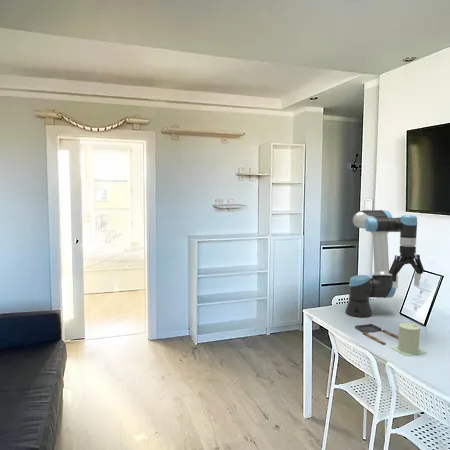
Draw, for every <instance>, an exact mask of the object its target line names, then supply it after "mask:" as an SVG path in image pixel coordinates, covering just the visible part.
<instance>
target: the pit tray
mask: <svg viewBox="0 0 450 450" xmlns="http://www.w3.org/2000/svg"><path fill="white" fill-rule="evenodd" d="M354 329H355V330H357V331H359V332H361V333H363V332H366V333H368V334H369V333H376V332H382V328H381V327H379V326H378V325H376V324H373V323H367V324H358V325H354Z"/></svg>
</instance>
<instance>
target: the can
mask: <svg viewBox="0 0 450 450" xmlns="http://www.w3.org/2000/svg"><path fill="white" fill-rule="evenodd" d="M420 332H421V327H420V326H419V325H417V324H414V323H409V322H402V323H399V324H398V336H399V339H398V344H397V345H398V349H399V350H400V351H402V352H405V353H411V354H415V353H418V352H419V349H420ZM415 355H416V354H415Z"/></svg>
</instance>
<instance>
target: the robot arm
mask: <svg viewBox="0 0 450 450" xmlns="http://www.w3.org/2000/svg"><path fill="white" fill-rule="evenodd" d="M351 222H352V224H353V226H355V228H359V229H365V231H366V232H369V233H371V235H372V248H373V251H372V252H373V253H372V254H373V271H374V272H373V273H372V275H371V277H370V275H366V274H365V275H364V274H357V275H354V276H351V277H350V279H349V284H348V286H349V287H348V288H349V290H348V302H347V305H346V307H345V314H346V315H348V316H350V317H351V316H352V317H356V318H368V317H369V318H370V317H372V314H373V313H372V308H371V304H370V298H381V299H383V298H384V299H387V298H389V299H391V298H394V296H395V294H396V291H397V289H398V287H399V275H398V274H399V273H400V271H401V270H402V268H403V267H404V266H405V265H411V268H413V270H414V271H415V272H414V277H413V278H414V281H413V285H414V286H415V287H420V280H421V275H422V274H423V273H424V272H425V269H424V266H423V264H422V261H421V255H420V254H417V232H418V217H417V215H412V214H404V215H401V217H400V216H399V217H393V215H392V213H391V212H390V211H389V210H385V209H378V210H377V209H376V210H375V209H371V210H370V209H364V210H359V211H357V212H355V213H354V214H353V215H352V218H351ZM389 233H399V235H400V236H399V245H400V246H399V253H400V254H399V255H394V260H393V262H392V263H391V266H390V262H389V241H388V234H389Z"/></svg>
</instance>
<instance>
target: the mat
mask: <svg viewBox="0 0 450 450" xmlns="http://www.w3.org/2000/svg"><path fill="white" fill-rule="evenodd" d="M390 348H391V349H392V350H394V351H396V352H398V353H399V354H400V355H401V354H402V355H403V356H405V357H407V356H414V355H420V354H421V355H422V354H427V353H428V352H427V351H425V350H423V349H420V348H419V352H418V353H415V354H411V353H405V352H402V351H400V350H399V349H398V346H397V345H396V346H391V347H390Z"/></svg>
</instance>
